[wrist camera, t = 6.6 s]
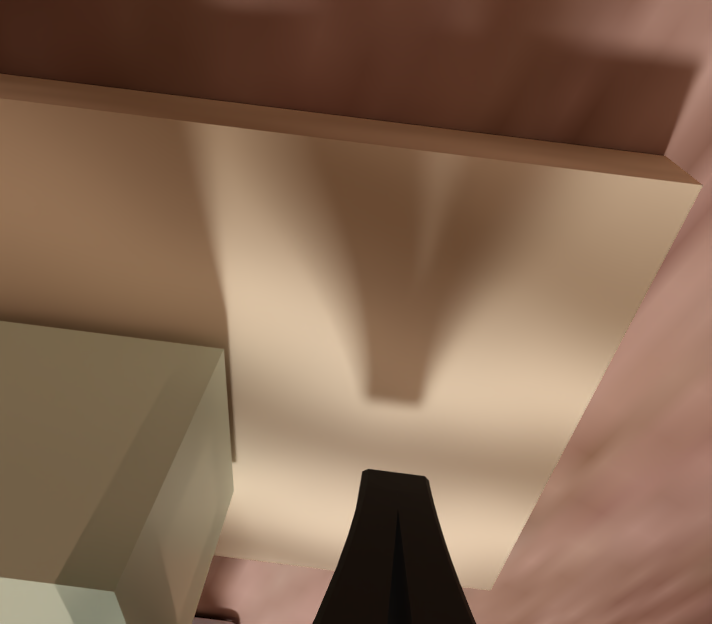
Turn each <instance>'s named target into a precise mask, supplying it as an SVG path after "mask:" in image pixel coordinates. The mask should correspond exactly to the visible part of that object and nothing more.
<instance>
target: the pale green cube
mask: <svg viewBox="0 0 712 624" xmlns="http://www.w3.org/2000/svg"><path fill="white" fill-rule="evenodd" d="M233 492H234V485H233V470H232V456H231V442H230V428H229V414H228V400H227V386H226V372H225V358H224V349H220V348H212V347H204V346H196V345H189V344H181V343H173V342H165V341H157V340H149V339H141V338H133V337H125V336H117V335H109V334H101V333H93V332H85V331H77V330H69V329H61V328H53V327H46V326H38V325H30V324H22V323H14V322H6V321H0V624H192V622H193V619H194V616H195V613H196V610H197V606H198V603H199V600H200V597H201V594H202V590H203V587H204V584H205V581H206V578H207V575H208V571H209V568H210V565H211V562H212V559H213V555H214V552H215V549H216V546H217V543H218V540H219V536H220V533H221V530H222V527H223V524H224V520H225V517H226V514H227V511H228V508H229V505H230V501H231V498H232V495H233Z"/></svg>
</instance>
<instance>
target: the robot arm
mask: <svg viewBox="0 0 712 624" xmlns="http://www.w3.org/2000/svg"><path fill="white" fill-rule="evenodd" d="M192 624H235V623H232V622H229V621H222V620H214V619H206V618H198V617H194V619H193V622H192ZM313 624H476V622H475V620H474V617H473V615H472V613H471V610H470V608H469V605H468V603H467V600H466V597H465V595H464V592H463V590H462V587H461V584H460V581H459V579H458V576H457V573H456V571H455V568H454V565H453V562H452V560H451V557H450V554H449V551H448V548H447V545H446V542H445V539H444V535H443V532H442V529H441V526H440V523H439V519H438V516H437V512H436V508H435V505H434V501H433V497H432V492H431V488H430V483H429V480H428V479H427V478H426V477H425V476H421V475H413V474H405V473H397V472H390V471H382V470H374V469H366V470H364V471H362V475H361V481H360V487H359V492H358V498H357V504H356V509H355V513H354V517H353V520H352V523H351V527H350V530H349V533H348V536H347V539H346V542H345V544H344V547H343V550H342V553H341V556H340V558H339V561H338V564H337V567H336V569H335V572H334V575H333V577H332V579H331V582H330V584H329V587H328V589H327V591H326V594H325V596H324V598H323V601H322V603H321V605H320V608H319V610H318V612H317V615H316V617H315V619H314V621H313Z"/></svg>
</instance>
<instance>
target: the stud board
mask: <svg viewBox="0 0 712 624" xmlns="http://www.w3.org/2000/svg"><path fill="white" fill-rule="evenodd" d="M702 186H703V185H702V184H701V183H699V182H698V181H697V180H695V179H694V178H693V177H692V176H690V175H689V174H688V173H686V172H685V171H684V170H683V169H681V168H680V167H679V166H677V165H676V164H675V163H674V162H672V161H671V160H670V159H668V158H667V157H666V156H662V155H654V154H646V153H638V152H630V151H622V150H613V149H605V148H597V147H589V146H581V145H573V144H565V143H557V142H549V141H541V140H533V139H525V138H516V137H508V136H500V135H492V134H484V133H476V132H468V131H460V130H452V129H444V128H436V127H428V126H420V125H411V124H403V123H395V122H387V121H379V120H371V119H363V118H355V117H347V116H339V115H331V114H323V113H314V112H306V111H298V110H290V109H282V108H274V107H266V106H258V105H250V104H242V103H234V102H226V101H217V100H209V99H201V98H193V97H185V96H177V95H169V94H161V93H153V92H145V91H137V90H129V89H121V88H112V87H104V86H96V85H88V84H80V83H72V82H64V81H56V80H48V79H40V78H32V77H24V76H15V75H7V74H0V321H6V322H14V323H22V324H30V325H38V326H46V327H53V328H61V329H69V330H77V331H85V332H93V333H101V334H109V335H117V336H125V337H133V338H141V339H149V340H157V341H165V342H173V343H181V344H189V345H196V346H204V347H212V348H220V349H224V358H225V372H226V386H227V400H228V414H229V428H230V442H231V456H232V470H233V485H234V492H233V495H232V498H231V501H230V505H229V508H228V511H227V514H226V517H225V520H224V524H223V527H222V530H221V533H220V536H219V540H218V543H217V546H216V549H215V552H214V555H215V556H222V557H230V558H238V559H246V560H254V561H262V562H269V563H277V564H285V565H293V566H301V567H309V568H316V569H324V570H332V571H335V569H336V567H337V564H338V561H339V558H340V556H341V553H342V550H343V547H344V544H345V542H346V539H347V536H348V533H349V530H350V527H351V523H352V520H353V517H354V513H355V509H356V504H357V498H358V492H359V487H360V481H361V475H362V471H364V470H366V469H374V470H382V471H390V472H397V473H405V474H413V475H421V476H425V477H426V478H427V479H428V480H429V483H430V488H431V492H432V497H433V501H434V505H435V508H436V512H437V516H438V519H439V523H440V526H441V529H442V532H443V535H444V539H445V542H446V545H447V548H448V551H449V554H450V557H451V560H452V562H453V565H454V568H455V571H456V573H457V576H458V579H459V581H460V584H461V587H465V588H473V589H481V590H489V591H490V590H491V588H492V587H493V585H494V583H495V581H496V579H497V577H498V575H499V573H500V571H501V569H502V567H503V566H504V564H505V562H506V560H507V558H508V556H509V554H510V552H511V550H512V548H513V546H514V545H515V543H516V541H517V539H518V537H519V535H520V533H521V531H522V529H523V527H524V526H525V524H526V522H527V520H528V518H529V516H530V514H531V512H532V510H533V508H534V506H535V505H536V503H537V501H538V499H539V497H540V495H541V493H542V491H543V489H544V487H545V485H546V484H547V482H548V480H549V478H550V476H551V474H552V472H553V470H554V468H555V466H556V465H557V463H558V461H559V459H560V457H561V455H562V453H563V451H564V449H565V447H566V445H567V444H568V442H569V440H570V438H571V436H572V434H573V432H574V430H575V428H576V426H577V424H578V423H579V421H580V419H581V417H582V415H583V413H584V411H585V409H586V407H587V405H588V404H589V402H590V400H591V398H592V396H593V394H594V392H595V390H596V388H597V386H598V384H599V383H600V381H601V379H602V377H603V375H604V373H605V371H606V369H607V367H608V365H609V363H610V362H611V360H612V358H613V356H614V354H615V352H616V350H617V348H618V346H619V344H620V342H621V341H622V339H623V337H624V335H625V333H626V331H627V329H628V327H629V325H630V323H631V322H632V320H633V318H634V316H635V314H636V312H637V310H638V308H639V306H640V304H641V302H642V301H643V299H644V297H645V295H646V293H647V291H648V289H649V287H650V285H651V283H652V281H653V280H654V278H655V276H656V274H657V272H658V270H659V268H660V266H661V264H662V262H663V261H664V259H665V257H666V255H667V253H668V251H669V249H670V247H671V245H672V243H673V241H674V240H675V238H676V236H677V234H678V232H679V230H680V228H681V226H682V224H683V222H684V220H685V219H686V217H687V215H688V213H689V211H690V209H691V207H692V205H693V203H694V201H695V200H696V198H697V196H698V194H699V192H700V190H701V188H702Z"/></svg>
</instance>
